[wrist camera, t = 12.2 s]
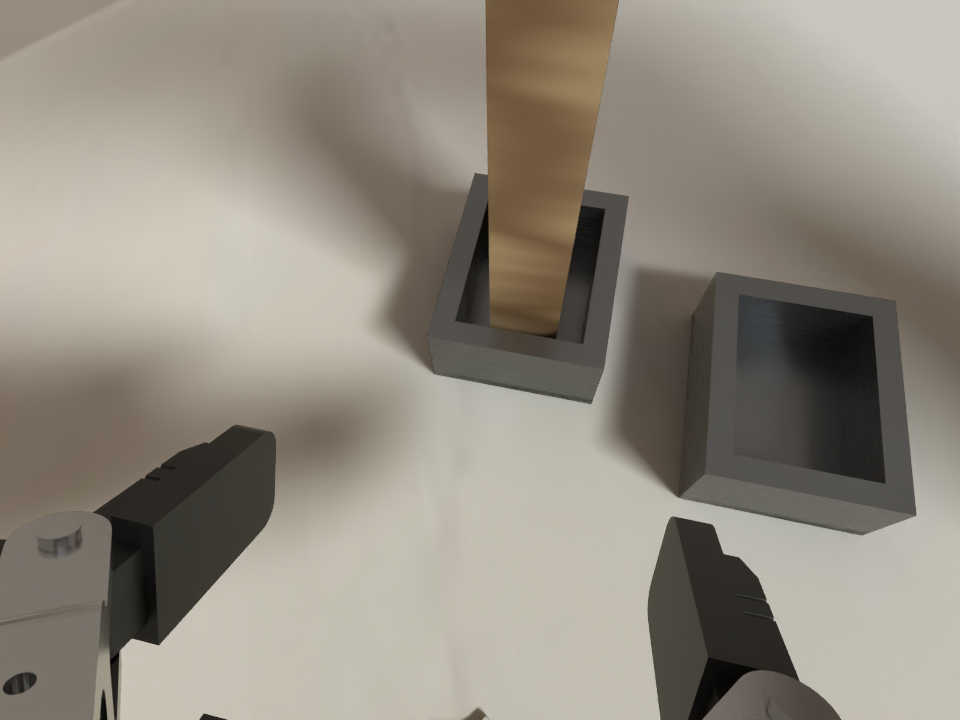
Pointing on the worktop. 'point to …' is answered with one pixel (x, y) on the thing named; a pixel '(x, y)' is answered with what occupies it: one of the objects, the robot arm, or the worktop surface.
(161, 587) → the robot arm
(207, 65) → the worktop surface
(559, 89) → the slat
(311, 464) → the worktop surface
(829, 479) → the endcap
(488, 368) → the endcap
